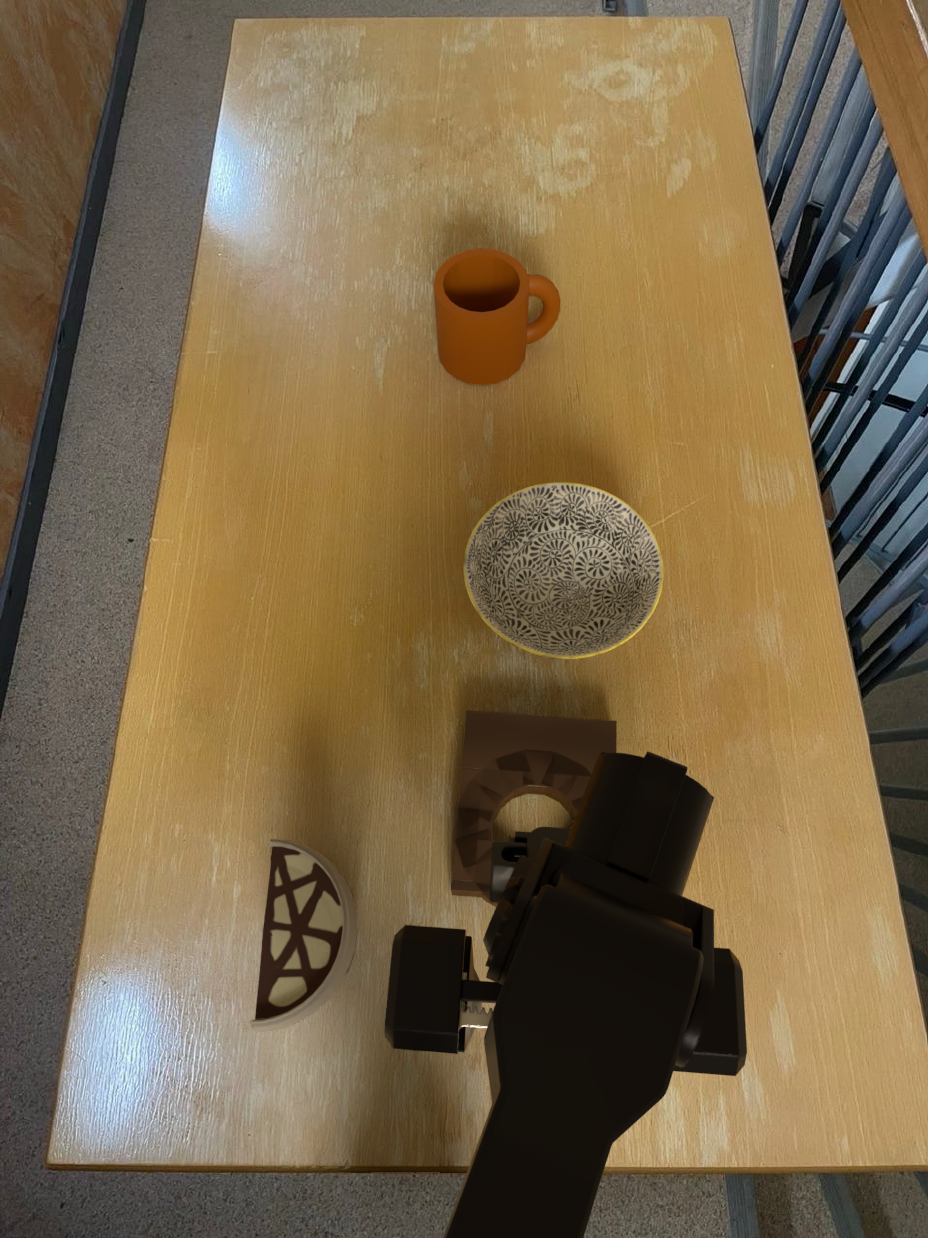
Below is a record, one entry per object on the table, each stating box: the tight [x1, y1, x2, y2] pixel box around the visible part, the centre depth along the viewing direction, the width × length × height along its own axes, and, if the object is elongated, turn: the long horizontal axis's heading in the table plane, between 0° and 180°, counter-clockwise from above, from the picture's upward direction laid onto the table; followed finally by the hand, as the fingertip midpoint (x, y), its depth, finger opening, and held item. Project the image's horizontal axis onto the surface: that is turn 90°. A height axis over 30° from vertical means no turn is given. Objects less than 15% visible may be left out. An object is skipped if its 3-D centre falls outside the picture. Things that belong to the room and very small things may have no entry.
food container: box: [248, 838, 358, 1034], centre depth 64 cm, size 12×6×10 cm, turn 179°
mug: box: [432, 247, 561, 386], centre depth 88 cm, size 9×12×9 cm
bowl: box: [462, 481, 665, 660], centre depth 77 cm, size 16×16×8 cm
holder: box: [450, 710, 618, 908], centre depth 71 cm, size 15×12×2 cm
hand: (552, 1006), depth 57 cm, fingers open, 9 cm apart
